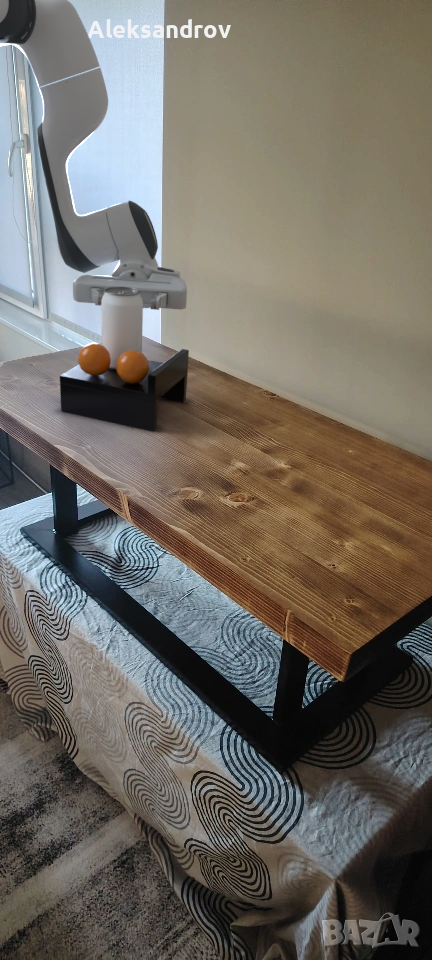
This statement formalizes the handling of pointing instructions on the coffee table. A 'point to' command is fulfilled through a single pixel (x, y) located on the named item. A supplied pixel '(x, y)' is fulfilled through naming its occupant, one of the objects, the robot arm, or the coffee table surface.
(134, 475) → the coffee table surface
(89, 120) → the robot arm
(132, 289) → the can
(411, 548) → the coffee table surface
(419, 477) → the coffee table surface
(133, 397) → the rack
